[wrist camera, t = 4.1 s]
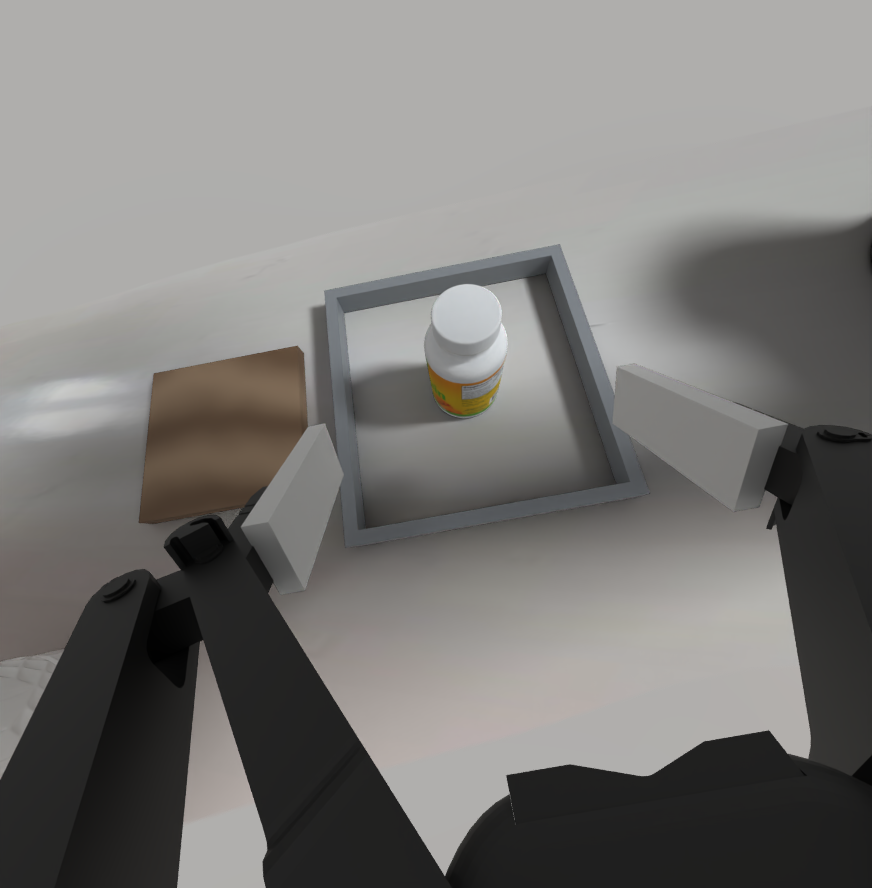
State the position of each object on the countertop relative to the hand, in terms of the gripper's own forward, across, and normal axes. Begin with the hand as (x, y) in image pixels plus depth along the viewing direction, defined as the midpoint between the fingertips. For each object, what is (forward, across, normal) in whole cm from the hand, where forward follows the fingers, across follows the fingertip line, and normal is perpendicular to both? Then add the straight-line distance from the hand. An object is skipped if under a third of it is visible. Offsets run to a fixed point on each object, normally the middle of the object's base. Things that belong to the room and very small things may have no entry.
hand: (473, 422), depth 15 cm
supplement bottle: (+13, +1, -3) cm, 13 cm away
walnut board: (+13, -19, -3) cm, 23 cm away
